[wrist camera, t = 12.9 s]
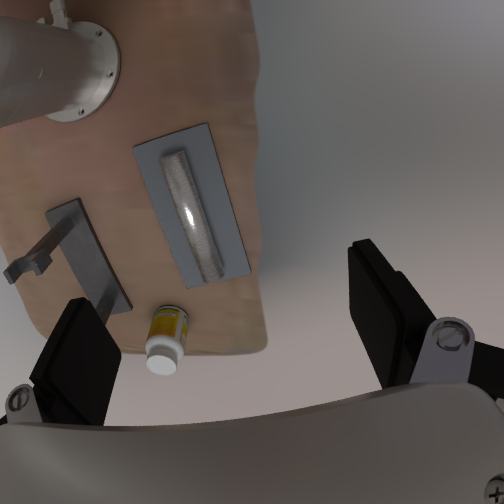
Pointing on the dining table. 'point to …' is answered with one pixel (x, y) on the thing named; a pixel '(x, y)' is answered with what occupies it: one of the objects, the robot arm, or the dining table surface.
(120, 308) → the hook stand
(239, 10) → the dining table surface
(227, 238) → the slate mat
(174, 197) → the grey metallic bar
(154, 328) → the supplement bottle
